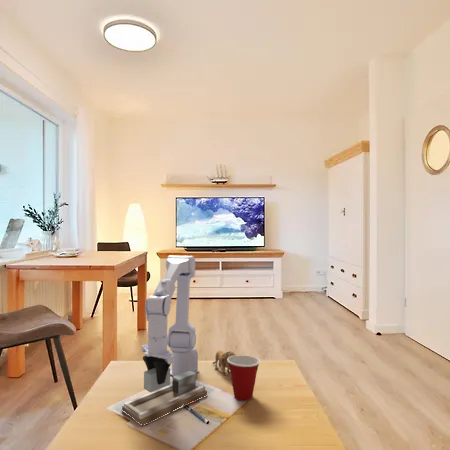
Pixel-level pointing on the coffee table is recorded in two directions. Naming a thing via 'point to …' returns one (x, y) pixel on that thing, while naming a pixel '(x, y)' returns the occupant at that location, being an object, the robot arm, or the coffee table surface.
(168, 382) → the gripped grey block
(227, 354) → the lion figurine
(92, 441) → the coffee table surface
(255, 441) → the coffee table surface
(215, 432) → the coffee table surface
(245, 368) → the plastic cup
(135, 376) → the coffee table surface
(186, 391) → the raised edge track
